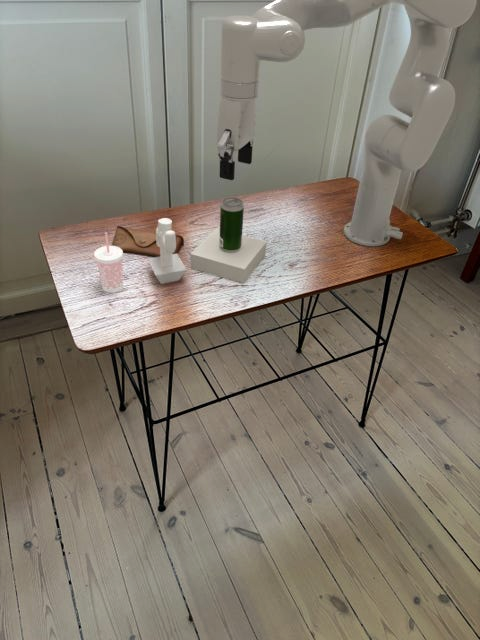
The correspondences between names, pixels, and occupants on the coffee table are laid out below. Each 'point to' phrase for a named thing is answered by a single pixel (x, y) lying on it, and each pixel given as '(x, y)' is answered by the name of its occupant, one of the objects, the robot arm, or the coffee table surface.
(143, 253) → the sunglasses case
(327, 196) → the coffee table surface
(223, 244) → the beer can
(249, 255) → the riser block
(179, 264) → the figurine
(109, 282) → the beverage cup
